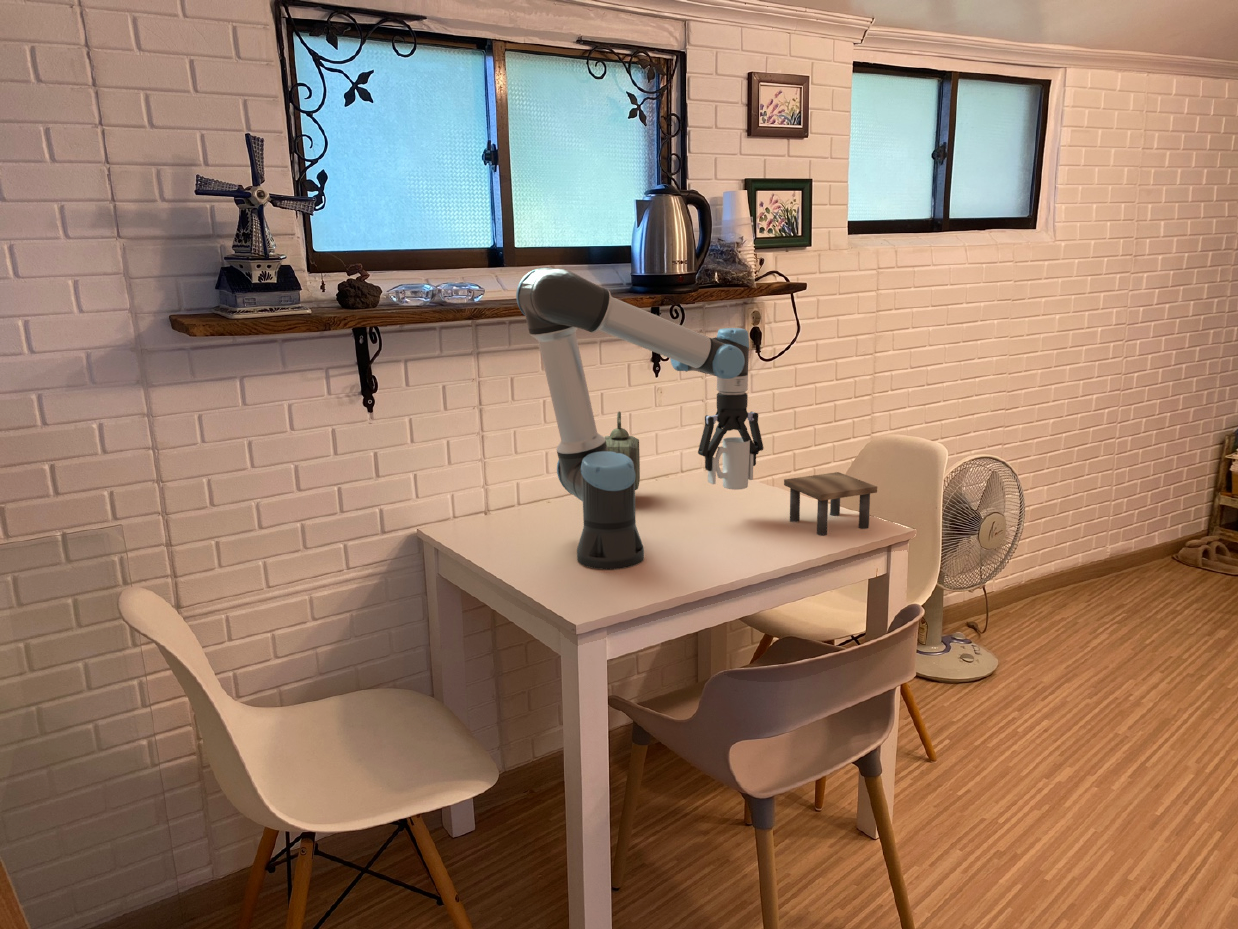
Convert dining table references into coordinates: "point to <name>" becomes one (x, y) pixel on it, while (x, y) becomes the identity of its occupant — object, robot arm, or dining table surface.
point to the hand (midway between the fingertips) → (730, 480)
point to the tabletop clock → (625, 446)
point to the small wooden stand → (829, 496)
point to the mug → (734, 463)
